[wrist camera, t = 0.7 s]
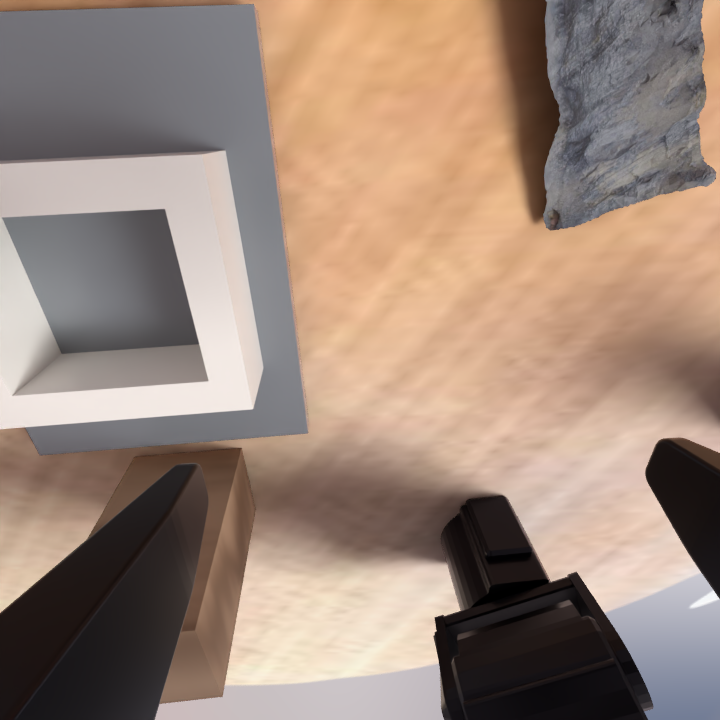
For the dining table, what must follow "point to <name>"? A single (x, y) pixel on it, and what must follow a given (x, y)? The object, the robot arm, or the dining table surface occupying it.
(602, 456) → the dining table surface
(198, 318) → the square frame on plate
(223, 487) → the wooden block
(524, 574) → the robot arm
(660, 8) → the grey flat stone bar
